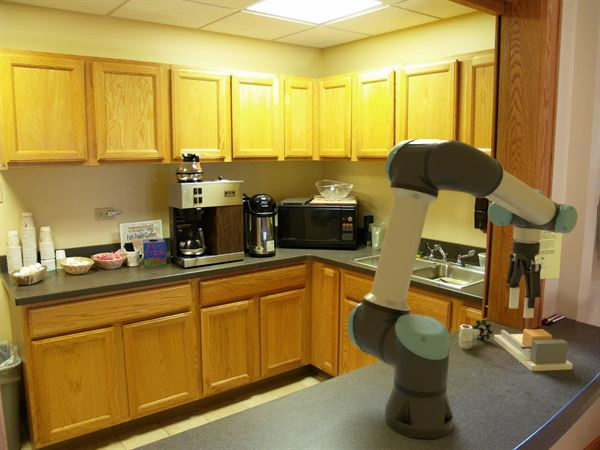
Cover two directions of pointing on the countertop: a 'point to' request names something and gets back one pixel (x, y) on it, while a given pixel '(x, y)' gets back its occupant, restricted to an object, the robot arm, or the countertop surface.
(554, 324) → the countertop surface
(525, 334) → the orange block
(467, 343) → the valve
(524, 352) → the cream and grey fixture
